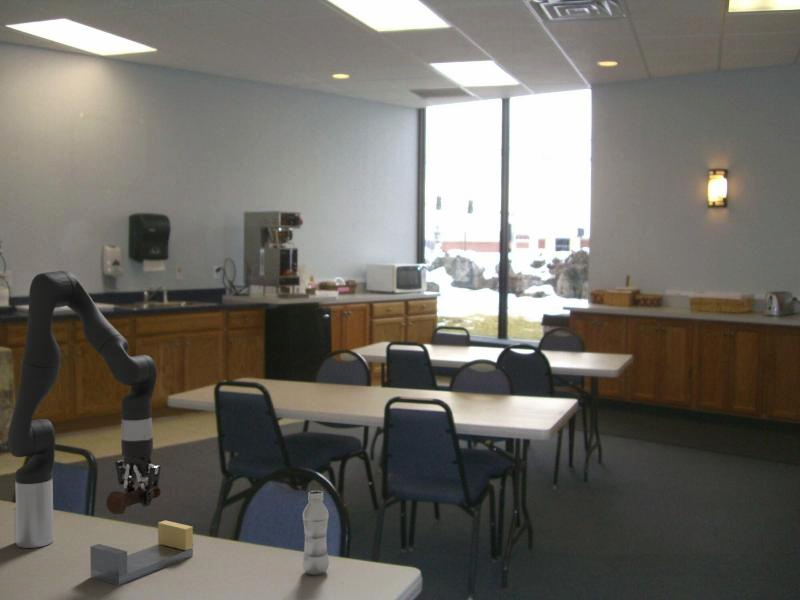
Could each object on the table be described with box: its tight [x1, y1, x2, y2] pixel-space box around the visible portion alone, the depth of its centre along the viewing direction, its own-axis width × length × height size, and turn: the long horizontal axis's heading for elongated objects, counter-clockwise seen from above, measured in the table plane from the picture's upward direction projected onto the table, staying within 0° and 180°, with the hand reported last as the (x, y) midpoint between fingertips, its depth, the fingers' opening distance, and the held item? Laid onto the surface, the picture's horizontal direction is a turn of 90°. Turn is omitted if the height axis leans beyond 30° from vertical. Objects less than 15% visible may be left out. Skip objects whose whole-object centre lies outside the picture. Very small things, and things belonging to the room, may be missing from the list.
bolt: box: [106, 484, 161, 515], centre depth 217 cm, size 6×5×15 cm
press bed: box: [89, 543, 194, 586], centre depth 218 cm, size 10×24×8 cm, turn 148°
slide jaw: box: [157, 520, 194, 550], centre depth 228 cm, size 10×2×6 cm, turn 58°
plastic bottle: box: [302, 490, 330, 576], centre depth 214 cm, size 6×7×20 cm
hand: (138, 503), depth 217 cm, fingers closed on bolt, 5 cm apart
